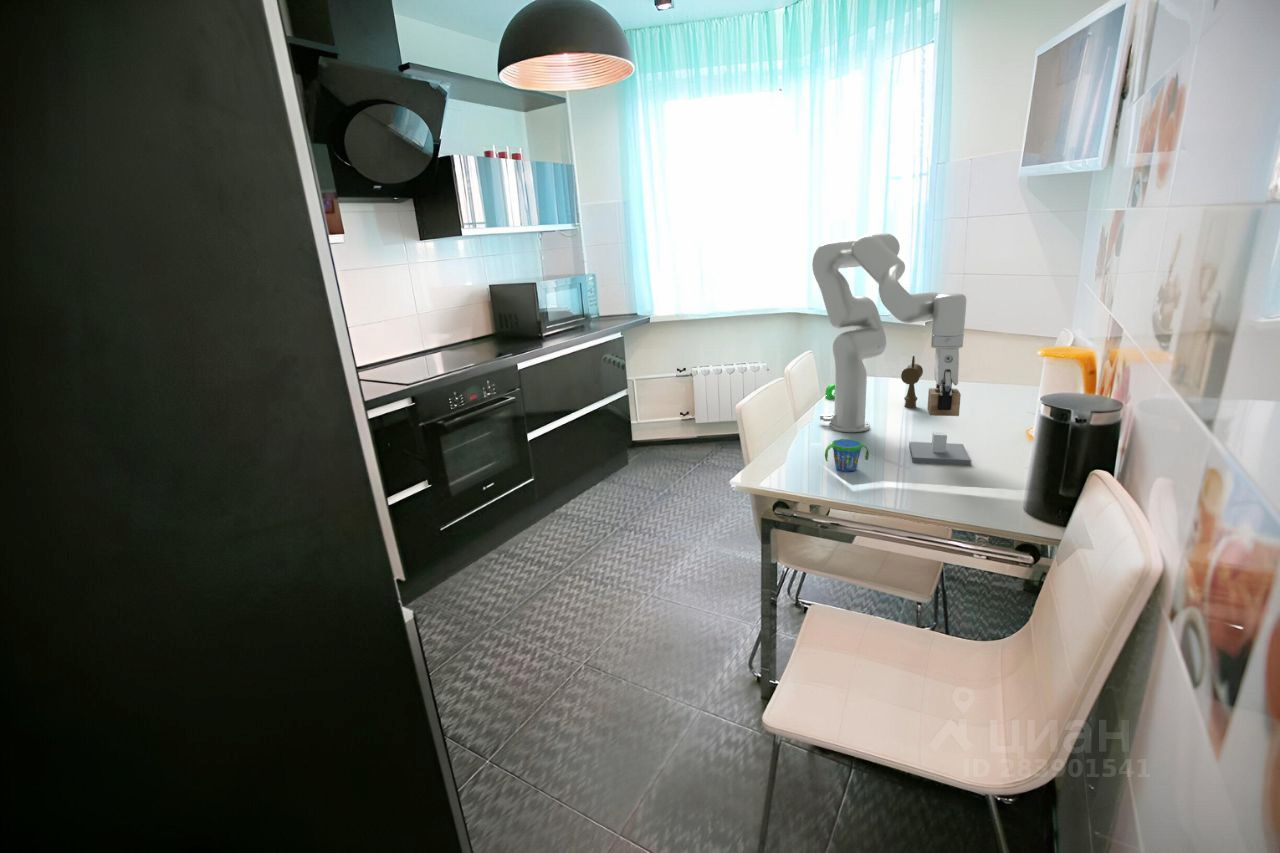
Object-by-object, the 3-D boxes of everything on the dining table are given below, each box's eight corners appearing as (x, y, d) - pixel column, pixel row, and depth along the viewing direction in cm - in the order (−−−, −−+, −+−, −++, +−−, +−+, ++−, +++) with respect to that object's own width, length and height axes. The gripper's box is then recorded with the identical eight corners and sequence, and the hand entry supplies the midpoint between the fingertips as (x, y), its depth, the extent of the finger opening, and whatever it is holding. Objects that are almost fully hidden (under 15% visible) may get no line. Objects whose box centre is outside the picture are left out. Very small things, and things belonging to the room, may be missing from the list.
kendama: (898, 413, 205) (901, 357, 199) (903, 407, 212) (906, 353, 207) (916, 415, 201) (920, 358, 196) (921, 408, 209) (925, 353, 204)
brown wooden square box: (929, 415, 157) (931, 393, 155) (927, 409, 163) (928, 388, 162) (958, 416, 154) (960, 394, 153) (955, 409, 161) (957, 388, 159)
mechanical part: (835, 408, 218) (836, 387, 216) (825, 405, 223) (825, 384, 221) (861, 403, 222) (862, 383, 219) (850, 400, 227) (851, 380, 225)
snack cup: (865, 463, 160) (866, 438, 158) (871, 473, 153) (872, 447, 151) (822, 464, 162) (822, 439, 160) (826, 474, 155) (827, 447, 153)
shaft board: (912, 462, 159) (914, 439, 157) (908, 446, 171) (910, 425, 169) (970, 465, 154) (972, 442, 152) (962, 448, 166) (964, 427, 165)
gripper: (968, 346, 145) (962, 414, 149) (958, 336, 160) (953, 399, 165) (934, 346, 147) (930, 414, 152) (928, 337, 163) (924, 398, 168)
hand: (942, 405), depth 158 cm, fingers closed on brown wooden square box, 7 cm apart
